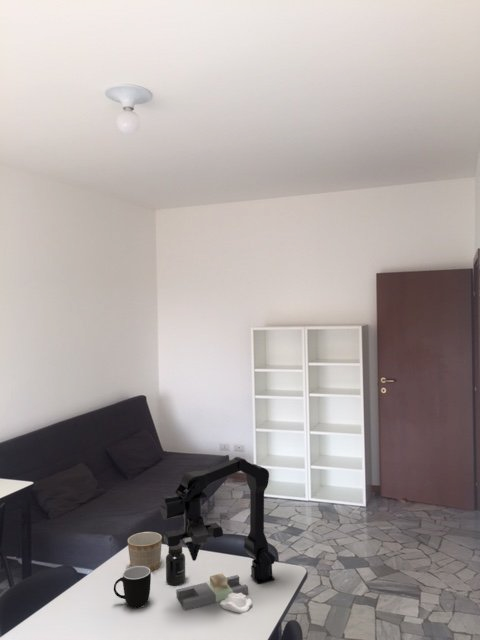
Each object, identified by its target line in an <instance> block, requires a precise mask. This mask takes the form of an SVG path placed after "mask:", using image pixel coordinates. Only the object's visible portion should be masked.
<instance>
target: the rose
mask: <svg viewBox="0 0 480 640" xmlns="http://www.w3.org/2000/svg"><path fill="white" fill-rule="evenodd" d="M252 601H253V600H252V599H251V598H247V595H243V594H242V593H238V594H236V593H230V594H228V597H227V598H226V599H225V600H222V601H220V603H219V604H220V606H221V607H222V609H225V610H228V611H232V612H234V613H240V614H242V613H247V612H248V611H249V609H250V607H251V606H252V604H253V602H252Z"/></svg>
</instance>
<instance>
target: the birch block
mask: <svg viewBox="0 0 480 640" xmlns="http://www.w3.org/2000/svg"><path fill="white" fill-rule="evenodd" d="M209 582H210V586H211V587H212V588H213V590H214V591H218V590H222V589H226V588H228V587H227V577H226V576H225V575H224V573H222V572H221V573H217V574H214V575H210V576H209Z"/></svg>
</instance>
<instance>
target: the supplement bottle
mask: <svg viewBox="0 0 480 640" xmlns="http://www.w3.org/2000/svg"><path fill="white" fill-rule="evenodd" d="M167 551H168V553H167V555H166V557H165V578H166V579H165V580H166V583H167V585H170V586H179V585H182V584H183V583H185V582H186V555H185V554H184V553H183V546H182V545H181V544H178V545H176V546H171V547H169V546H168V550H167Z"/></svg>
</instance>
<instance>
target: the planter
mask: <svg viewBox="0 0 480 640" xmlns="http://www.w3.org/2000/svg"><path fill="white" fill-rule="evenodd" d="M162 540H163V536H162V535H161V534H160V533H158V532H154V531H143V532H138V533H135V534H132V535H131V536H129V537H128V538H127V548H128V555H129V565H130V568H131V567H135V566H145V567H148V568H149V569H150V571H151V572H152V571H155V570H157V569H158V568H159V567H160V566H161V560H162V559H161V558H162V557H161V556H162Z"/></svg>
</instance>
